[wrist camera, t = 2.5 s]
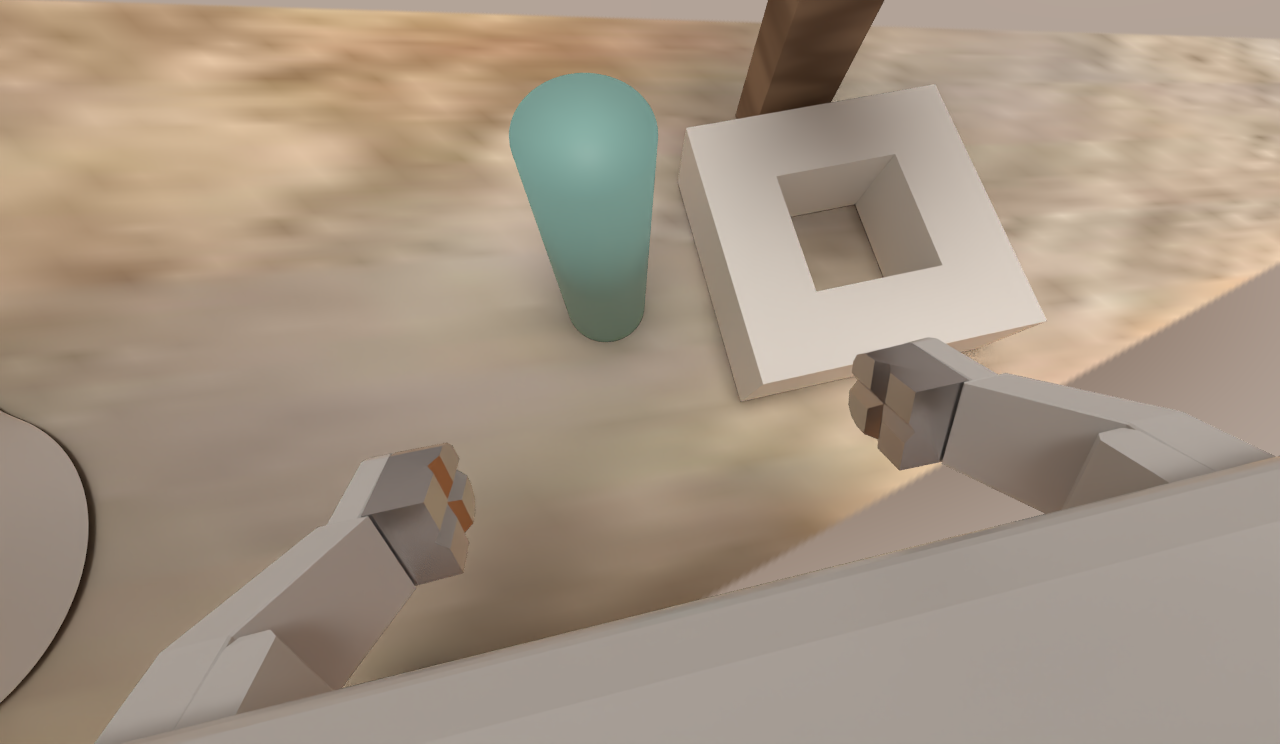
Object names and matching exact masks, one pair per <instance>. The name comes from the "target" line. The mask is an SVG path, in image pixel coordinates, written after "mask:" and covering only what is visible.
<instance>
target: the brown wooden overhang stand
mask: <svg viewBox="0 0 1280 744" xmlns="http://www.w3.org/2000/svg"><path fill="white" fill-rule="evenodd" d="M883 1H884V0H768V3H767V6H766V10H765V13H764V17H763V20H762V24H761V27H760V31H759V34H758V38H757V41H756V45H755V48H754V52H753V56H752V59H751V63H750V66H749V70H748V73H747V77H746V80H745V84H744V87H743V91H742V94H741V98H740V101H739V105H738V108H737V112H736V118H737V119H740V118H746V117H751V116H757V115H763V114H769V113H774V112H780V111H786V110H791V109H797V108H803V107H808V106H814V105H820V104H825V103H831V101H832V99H833V97H834V96H835V94H836V92H837V90H838V88H839V86H840V84H841V82H842V80H843V78H844V76H845V74H846V73H847V71H848V69H849V67H850V65H851V63H852V61H853V59H854V57H855V55H856V53H857V52H858V50H859V48H860V46H861V44H862V42H863V40H864V38H865V36H866V34H867V32H868V30H869V29H870V27H871V25H872V23H873V21H874V19H875V17H876V15H877V13H878V11H879V9H880V8H881V6H882V4H883Z"/></svg>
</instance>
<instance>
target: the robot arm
mask: <svg viewBox="0 0 1280 744" xmlns="http://www.w3.org/2000/svg"><path fill="white" fill-rule="evenodd" d="M852 374H853V375H854V376H855V378H856V379H857V382H856V383H855V384H854V386H853V387H852V388H851V390H850V391H849V404H848V405H849V409H850V412H851V416H852V418H853V420H854V422H855V424H856V426H857V427H858V428H859V429H860V430H861V431H862V432H863V433H864V434H866V435H868V436H871V437H873V438H876V439H878V449H879V450H880V451H881V452H882V453H883V454H884V455H885V456H886V457H887V458H888V459H889V460H890V461H891V462H892V463H893V464H894V466H895V467H896V468H897V469H898V470H904V469H909V468H914V467H919V466H923V465H928V464H933V463H938V462H942V464H943V465H945V466H947V467H949V468H952V469H954V470H956V471H958V472H960V473H962V474H964V475H966V476H968V477H970V478H972V479H974V480H977V481H979V482H981V483H983V484H985V485H987V486H989V487H991V488H993V489H995V490H997V491H999V492H1002V493H1004V494H1006V495H1008V496H1010V497H1012V498H1014V499H1016V500H1018V501H1020V502H1022V503H1024V504H1026V505H1028V506H1031V507H1033V508H1035V509H1037V510H1039V511H1041V512H1043V513H1045V514H1043V515H1039V516H1035V517H1031V518H1027V519H1023V520H1019V521H1015V522H1011V523H1007V524H1003V525H998V526H994V527H990V528H987V529H983V530H979V531H974V532H970V533H967V534H962V535H958V536H954V537H950V538H946V539H942V540H938V541H934V542H930V543H926V544H922V545H918V546H914V547H910V548H906V549H902V550H898V551H894V552H890V553H886V554H882V555H878V556H874V557H870V558H866V559H862V560H858V561H853V562H849V563H846V564H842V565H838V566H833V567H830V568H825V569H822V570H817V571H813V572H809V573H806V574H801V575H797V576H793V577H789V578H785V579H781V580H777V581H773V582H769V583H765V584H761V585H757V586H753V587H749V588H745V589H741V590H737V591H733V592H729V593H725V594H720V595H716V596H712V597H708V598H704V599H700V600H696V601H692V602H688V603H684V604H680V605H676V606H672V607H668V608H664V609H660V610H656V611H652V612H648V613H644V614H640V615H636V616H632V617H628V618H624V619H620V620H616V621H612V622H607V623H603V624H599V625H595V626H591V627H587V628H583V629H579V630H575V631H571V632H567V633H563V634H559V635H555V636H551V637H547V638H543V639H539V640H535V641H531V642H527V643H523V644H519V645H515V646H511V647H507V648H503V649H499V650H495V651H491V652H487V653H483V654H479V655H475V656H470V657H466V658H462V659H458V660H454V661H450V662H446V663H442V664H438V665H434V666H430V667H426V668H422V669H418V670H414V671H410V672H406V673H402V674H398V675H394V676H390V677H386V678H382V679H378V680H374V681H370V682H366V683H362V684H358V685H354V686H350V687H346V688H342V687H343V686H344V684H345V683H346V682H347V680H348V679H349V678H350V676H351V675H352V674H353V672H354V671H355V670H356V668H357V667H358V666H359V664H360V663H361V662H362V660H363V659H364V658H365V656H366V655H367V654H368V652H369V651H370V650H371V648H372V647H373V646H374V644H375V643H376V642H377V640H378V639H379V637H380V636H381V635H382V633H383V632H384V631H385V629H386V628H387V627H388V625H389V624H390V623H391V621H392V620H393V619H394V617H395V616H396V615H397V613H398V612H399V611H400V609H401V608H402V607H403V605H404V604H405V603H406V601H407V600H408V599H409V597H410V596H411V594H412V593H413V592H414V590H415V589H416V587H415V586H417V585H420V584H424V583H428V582H432V581H436V580H439V579H443V578H447V577H451V576H454V575H458V574H462V573H464V568H465V563H466V558H467V553H468V548H469V543H470V542H469V540H468V538H467V536H466V534H465V532H466V531H467V530H468V529H469V527H470V526H471V525H472V524H473V522H474V516H475V496H474V492H473V488H472V485H471V483H470V480H469V478H468V476H467V475H465V474H464V473H462V472H460V471H458V470H457V466H458V462H459V457H458V455H457V453H456V451H455V449H454V447H453V445H451V444H449V443H442V444H437V445H431V446H426V447H421V448H416V449H411V450H406V451H401V452H396V453H394V454H393V453H390V454H386V455H381V456H377V457H372V458H368V459H366V460H364V461H362V462H361V464H360V465H359V467H358V469H357V471H356V473H355V474H354V476H353V478H352V480H351V482H350V483H349V485H348V487H347V489H346V491H345V493H344V494H343V496H342V498H341V500H340V502H339V503H338V505H337V507H336V509H335V511H334V513H333V514H332V516H331V518H330V520H329V522H328V523H327V525H325V526H321V527H317V528H316V529H315V530H313V531H312V532H311V533H310V534H308V535H307V536H306V537H304V538H303V539H302V540H301V541H299V542H298V543H297V544H296V545H294V546H293V547H292V548H291V549H289V550H288V551H287V552H286V553H284V554H283V555H282V556H281V557H279V558H278V559H277V560H276V561H274V562H273V563H272V564H271V565H269V566H268V567H267V568H266V569H264V570H263V571H262V572H261V573H259V574H258V575H257V576H256V577H254V578H253V579H252V580H251V581H249V582H248V583H247V584H246V585H244V586H243V587H242V588H241V589H239V590H238V591H237V592H236V593H234V594H233V595H232V596H231V597H229V598H228V599H227V600H226V601H224V602H223V603H222V604H221V605H219V606H218V607H217V608H216V609H214V610H213V611H212V612H211V613H209V614H208V615H207V616H206V617H204V618H203V619H202V620H201V621H199V622H198V623H197V624H196V625H194V626H193V627H192V628H191V629H189V630H188V631H187V632H185V633H184V634H183V635H182V636H180V637H179V638H178V639H177V640H175V641H174V642H173V643H172V644H170V645H169V646H168V647H167V648H165V649H164V650H163V651H162V652H160V653H159V655H158V656H157V657H156V659H155V660H154V662H153V663H152V664H151V666H150V667H149V668H148V670H147V671H146V673H145V674H144V675H143V677H142V678H141V679H140V681H139V682H138V684H137V685H136V686H135V688H134V689H133V691H132V692H131V693H130V695H129V696H128V697H127V699H126V700H125V702H124V703H123V704H122V706H121V707H120V708H119V710H118V711H117V713H116V714H115V715H114V717H113V718H112V719H111V721H110V722H109V724H108V725H107V726H106V728H105V729H104V730H103V732H102V733H101V735H100V736H99V737H98V739H97V740H96V741H95V743H94V744H1280V456H1278V457H1276V456H1274V455H1272V454H1270V453H1267V452H1265V451H1263V450H1261V449H1259V448H1257V447H1255V446H1253V445H1251V444H1249V443H1247V442H1245V441H1242V440H1241V439H1238V438H1236V437H1234V436H1232V435H1230V434H1228V433H1226V432H1224V431H1222V430H1220V429H1218V428H1216V427H1214V426H1211V425H1209V424H1207V423H1205V422H1203V421H1201V420H1199V419H1197V418H1195V417H1193V416H1190V415H1188V414H1187V413H1184V412H1182V411H1177V410H1173V409H1168V408H1164V407H1159V406H1154V405H1150V404H1145V403H1141V402H1136V401H1132V400H1127V399H1122V398H1117V397H1113V396H1108V395H1104V394H1099V393H1095V392H1090V391H1086V390H1081V389H1077V388H1072V387H1067V386H1063V385H1058V384H1054V383H1049V382H1044V381H1040V380H1035V379H1031V378H1026V377H1022V376H1017V375H1012V374H1008V373H1004V374H999V375H998V374H996V373H994V372H993V371H991V370H989V369H988V368H986V367H984V366H983V365H981V364H979V363H978V362H976V361H974V360H972V359H971V358H969V357H967V356H966V355H964V354H962V353H961V352H959V351H957V350H956V349H954V348H952V347H950V346H949V345H947V344H945V343H944V342H942V341H940V340H939V339H937V338H930V337H927V338H923V339H919V340H915V341H911V342H907V343H904V344H901V345H897V346H892V347H888V348H884V349H879V350H875V351H871V352H866V353H862V354H858V355H856V357H855V359H854V361H853V366H852ZM88 525H89V524H88V510H87V502H86V497H85V493H84V489H83V486H82V483H81V480H80V477H79V475H78V473H77V471H76V469H75V467H74V465H73V463H72V461H71V460H70V458H69V457H68V455H67V454H66V453H65V452H64V450H63V449H62V448H61V447H60V446H59V445H58V444H57V443H56V442H55V441H54V440H53V439H52V438H51V437H50V436H48V435H47V434H46V433H45V432H43V431H42V430H40V429H38V428H37V427H35V426H33V425H31V424H29V423H27V422H25V421H23V420H20V419H18V418H15V417H13V416H11V415H8V414H6V413H4V412H2V411H0V702H1V701H3V700H4V699H5V698H6V697H7V696H8V695H9V694H10V693H11V692H12V691H13V690H14V689H15V688H16V686H17V685H18V684H19V683H20V682H21V681H22V680H23V679H24V678H25V676H26V675H27V674H28V673H29V672H30V671H31V669H32V668H33V667H34V666H35V664H36V663H37V662H38V660H39V659H40V658H41V656H42V655H43V654H44V652H45V651H46V649H47V648H48V646H49V645H50V643H51V641H52V640H53V638H54V637H55V635H56V633H57V632H58V630H59V628H60V626H61V624H62V622H63V621H64V619H65V617H66V615H67V613H68V610H69V608H70V606H71V604H72V601H73V599H74V596H75V593H76V591H77V588H78V585H79V582H80V578H81V575H82V571H83V567H84V563H85V558H86V552H87V544H88Z"/></svg>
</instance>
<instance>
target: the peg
mask: <svg viewBox="0 0 1280 744" xmlns="http://www.w3.org/2000/svg"><path fill="white" fill-rule="evenodd" d="M509 141H510V148H511V151H512V155H513V158H514V160H515V163H516V166H517V169H518V172H519V175H520V177H521V180H522V183H523V186H524V189H525V192H526V194H527V197H528V200H529V203H530V206H531V209H532V211H533V214H534V217H535V220H536V223H537V225H538V228H539V231H540V234H541V237H542V240H543V242H544V245H545V248H546V251H547V254H548V257H549V259H550V262H551V265H552V268H553V271H554V274H555V276H556V279H557V282H558V285H559V288H560V291H561V293H562V296H563V299H564V302H565V305H566V308H567V310H568V313H569V316H570V319H571V321H572V323H573V325H574V326H575V327H576V329H577V330H578V331H579V332H580V333H581V334H583V335H584V336H586V337H588V338H590V339H592V340H596V341H601V342H611V341H616V340H620V339H622V338H624V337H626V336H628V335H629V334H630V333H632V332H633V331H634V330H635V329H636V328H637V326H638V325H639V323H640V322H641V319H642V317H643V313H644V305H645V293H646V280H647V268H648V255H649V243H650V230H651V218H652V205H653V193H654V180H655V168H656V155H657V143H658V127H657V122H656V119H655V116H654V113H653V111H652V109H651V108H650V106H649V104H648V103H647V102H646V100H645V99H644V98H643V97H642V96H641V95H640V94H639V93H638V92H637V91H636V90H635V89H633V88H632V87H631V86H629V85H627V84H626V83H624V82H622V81H620V80H617V79H615V78H612V77H609V76H605V75H601V74H594V73H575V74H568V75H563V76H560V77H557V78H554V79H551V80H549V81H547V82H545V83H543V84H541V85H540V86H538V87H536V88H535V89H534V90H532V91H531V92H530V93H529V94H528V95H527V96H526V97H525V98H524V99H523V100H522V102H521V103H520V104H519V106H518V107H517V109H516V111H515V113H514V115H513V118H512V120H511V124H510V129H509Z"/></svg>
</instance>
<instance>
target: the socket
mask: <svg viewBox="0 0 1280 744" xmlns="http://www.w3.org/2000/svg"><path fill="white" fill-rule="evenodd" d="M678 185H679V188H680V192H681V195H682V199H683V202H684V206H685V209H686V213H687V216H688V220H689V223H690V227H691V230H692V234H693V237H694V241H695V244H696V248H697V251H698V255H699V258H700V262H701V265H702V269H703V272H704V276H705V279H706V283H707V286H708V290H709V293H710V297H711V300H712V304H713V307H714V311H715V314H716V318H717V321H718V325H719V328H720V332H721V335H722V339H723V342H724V346H725V349H726V353H727V356H728V360H729V363H730V367H731V370H732V374H733V377H734V381H735V384H736V388H737V391H738V395H739V398H740V402H742V401H746V400H751V399H755V398H760V397H764V396H769V395H773V394H778V393H782V392H786V391H791V390H795V389H800V388H804V387H809V386H813V385H817V384H822V383H826V382H831V381H835V380H840V379H844V378H849V377H853V376H854V375H853V374H852V366H853V361H854V359H855V357H856V355H858V354H862V353H866V352H871V351H875V350H879V349H884V348H888V347H892V346H897V345H901V344H904V343H907V342H911V341H915V340H919V339H923V338H927V337H930V338H937V339H939V340H940V341H942V342H944V343H945V344H947V345H949V346H950V347H952V348H954V349H956V350H957V351H959V352H964V351H968V350H973V349H977V348H980V347H983V346H985V345H988V344H990V343H993V342H996V341H998V340H1001V339H1003V338H1006V337H1008V336H1011V335H1013V334H1016V333H1018V332H1021V331H1023V330H1026V329H1028V328H1031V327H1033V326H1036V325H1038V324H1041V323H1043V322H1046V321H1047V320H1046V318H1045V316H1044V314H1043V311H1042V309H1041V307H1040V305H1039V303H1038V301H1037V299H1036V297H1035V294H1034V292H1033V290H1032V288H1031V286H1030V284H1029V282H1028V280H1027V278H1026V275H1025V273H1024V271H1023V269H1022V267H1021V265H1020V263H1019V261H1018V258H1017V256H1016V254H1015V252H1014V250H1013V248H1012V246H1011V244H1010V242H1009V239H1008V237H1007V235H1006V233H1005V231H1004V229H1003V227H1002V225H1001V222H1000V220H999V218H998V216H997V214H996V212H995V210H994V208H993V205H992V203H991V201H990V199H989V197H988V195H987V193H986V191H985V189H984V186H983V184H982V182H981V180H980V178H979V176H978V174H977V172H976V169H975V167H974V165H973V163H972V161H971V159H970V157H969V155H968V153H967V150H966V148H965V146H964V144H963V142H962V140H961V138H960V136H959V133H958V131H957V129H956V127H955V125H954V123H953V121H952V119H951V117H950V114H949V112H948V110H947V108H946V106H945V104H944V102H943V100H942V97H941V95H940V93H939V91H938V89H937V87H936V85H935V84H933V85H927V86H922V87H916V88H910V89H905V90H899V91H893V92H888V93H882V94H876V95H871V96H865V97H859V98H854V99H848V100H842V101H837V102H831V103H825V104H820V105H814V106H808V107H803V108H797V109H791V110H786V111H780V112H774V113H769V114H763V115H757V116H751V117H746V118H740V119H734V120H729V121H723V122H717V123H712V124H706V125H700V126H695V127H689V128H686V132H685V138H684V145H683V151H682V158H681V164H680V170H679V177H678ZM854 204H855V205H856V208H857V211H858V213H859V216H860V218H861V221H862V223H863V226H864V228H865V231H866V234H867V236H868V239H869V241H870V244H871V246H872V249H873V252H874V254H875V257H876V259H877V262H878V264H879V267H880V270H881V272H882V275H883V277H884V278H879V279H874V280H869V281H864V282H860V283H855V284H850V285H845V286H841V287H836V288H831V289H826V290H821V291H817V292H816V289H815V286H814V283H813V280H812V277H811V274H810V272H809V269H808V266H807V263H806V260H805V257H804V254H803V251H802V249H801V246H800V243H799V240H798V237H797V234H796V231H795V228H794V226H793V223H792V220H791V217H793V216H798V215H803V214H808V213H813V212H818V211H823V210H829V209H834V208H839V207H844V206H849V205H854Z"/></svg>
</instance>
